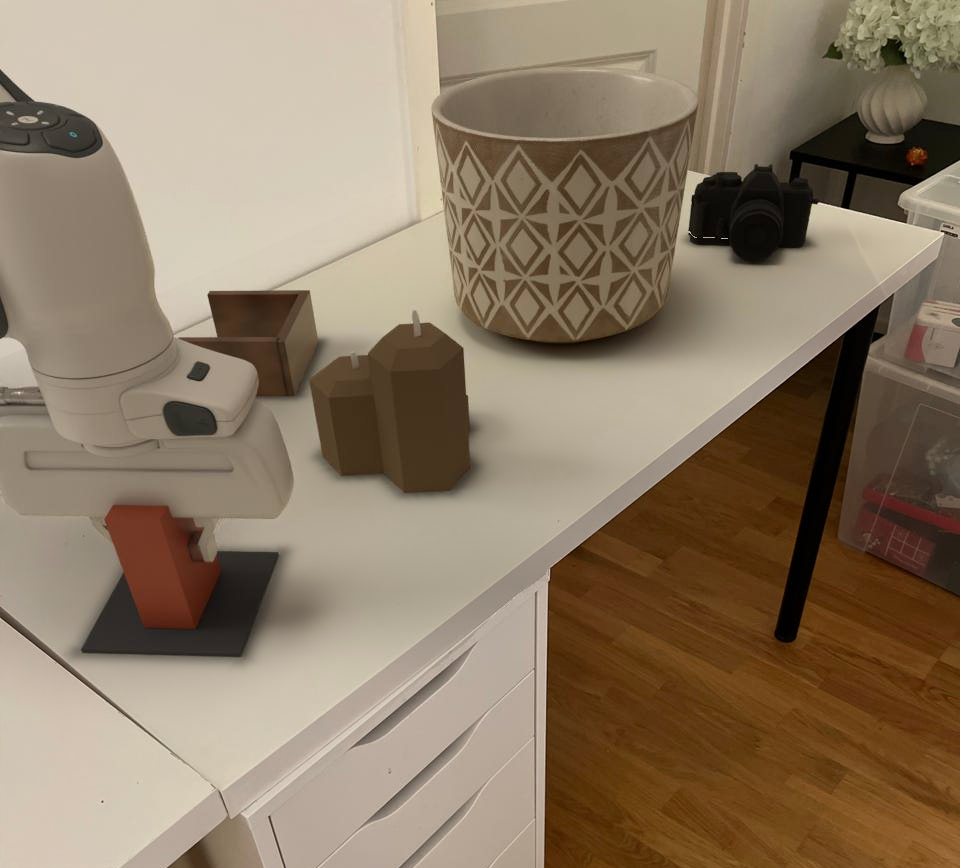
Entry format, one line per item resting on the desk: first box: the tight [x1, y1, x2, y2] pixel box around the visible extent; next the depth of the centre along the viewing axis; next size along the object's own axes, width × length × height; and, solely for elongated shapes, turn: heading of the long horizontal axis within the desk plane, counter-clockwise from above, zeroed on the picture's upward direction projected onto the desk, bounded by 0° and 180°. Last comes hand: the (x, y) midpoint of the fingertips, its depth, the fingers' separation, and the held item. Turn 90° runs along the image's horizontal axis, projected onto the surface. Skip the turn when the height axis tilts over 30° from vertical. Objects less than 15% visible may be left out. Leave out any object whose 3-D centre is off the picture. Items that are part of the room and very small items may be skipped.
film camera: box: [687, 163, 820, 263], centre depth 118 cm, size 15×10×9 cm, turn 77°
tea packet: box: [104, 505, 221, 629], centre depth 71 cm, size 4×7×10 cm, turn 175°
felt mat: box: [80, 550, 280, 658], centre depth 75 cm, size 12×12×1 cm
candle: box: [308, 309, 471, 494], centre depth 84 cm, size 14×14×15 cm
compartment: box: [177, 289, 319, 397], centre depth 101 cm, size 11×12×6 cm
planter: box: [430, 66, 699, 344], centre depth 102 cm, size 26×26×22 cm
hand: (171, 556), depth 72 cm, fingers closed on tea packet, 4 cm apart
